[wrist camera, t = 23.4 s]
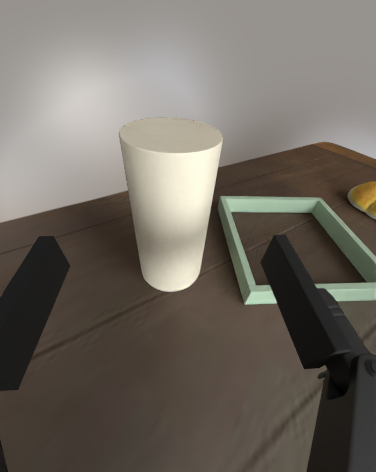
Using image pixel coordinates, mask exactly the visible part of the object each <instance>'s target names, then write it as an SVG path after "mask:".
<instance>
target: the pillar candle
mask: <svg viewBox="0 0 376 472" xmlns="http://www.w3.org/2000/svg"><path fill="white" fill-rule="evenodd" d="M119 138H120V144H121V150H122V155H123V161H124V168H125V174H126V180H127V186H128V192H129V198H130V204H131V210H132V216H133V222H134V228H135V234H136V241H137V247H138V253H139V259H140V265H141V271H142V275H143V277H144V279H145V280H146V282H147V283H148V284H150V285H151V286H152V287H154V288H156V289H158V290H162V291H167V292H173V291H179V290H182V289H185V288H187V287H189V286H190V285H191V284H193V283H194V282H195V280H196V279H197V277H198V275H199V272H200V267H201V262H202V256H203V250H204V245H205V239H206V233H207V227H208V222H209V216H210V210H211V204H212V199H213V193H214V187H215V181H216V176H217V170H218V164H219V158H220V153H221V146H222V141H223V137H222V134H221V133H220V132H219V131H218V130H217V129H215V128H214V127H212V126H210V125H207V124H204V123H201V122H198V121H194V120H188V119H182V118H168V117H167V118H166V117H165V118H147V119H141V120H137V121H134V122H131V123H128V124H127V125H125V126H123V127H122V128H121V129H120V131H119Z"/></svg>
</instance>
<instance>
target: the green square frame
mask: <svg viewBox="0 0 376 472" xmlns="http://www.w3.org/2000/svg"><path fill="white" fill-rule="evenodd" d="M218 212H219V215H220V219H221V223H222V226H223V230H224V233H225V237H226V241H227V244H228V248H229V251H230V255H231V258H232V262H233V266H234V269H235V273H236V276H237V280H238V284H239V287H240V291H241V294H242V297H243V301H244V304H272V303H277V302H276V299H275V297H274V294H273V292H272V289H271V287H270V285H256V284H255V281H254V278H253V275H252V272H251V270H250V267H249V264H248V261H247V258H246V255H245V252H244V249H243V247H242V244H241V241H240V238H239V235H238V232H237V229H236V226H235V223H234V221H233V218H232V215H231V212H294V213H312V214H313V215H314V217H315V218H316V219H317V221H318V222H319V223H320V224H321V226H322V227H323V228H324V229H325V231H326V232H327V233H328V234H329V236H330V237H331V238H332V239H333V241H334V242H335V243H336V244H337V246H338V247H339V248H340V249H341V251H342V252H343V253H344V254H345V256H346V257H347V258H348V259H349V261H350V262H351V263H352V264H353V266H354V267H355V268H356V269H357V271H358V272H359V273H360V274H361V276H362V277H363V278H364V279H365V281H366V282H367V283H334V284H315V286H316V287H317V288H325V289H326V290H327V291H328V292H329V293H330V294H331V295H332V296H333V297H334V298H335V300H336V301H362V300H376V257H375V256H374V255H373V253H372V252H371V251H370V250H369V249H368V248H367V247H366V246H365V245H364V244H363V243H362V242H361V241H360V239H359V238H358V237H357V236H356V235H355V234H354V233H353V232H352V231H351V230H350V229H349V228H348V227H347V226H346V224H345V223H344V222H343V221H342V220H341V219H340V218H339V217H338V216H337V215H336V214H335V213H334V212H333V210H332V209H331V208H330V207H329V206H328V205H327V204H326V203H325V202H324V201H323V200H322V199H321V198H311V197H249V196H220V199H219V204H218Z"/></svg>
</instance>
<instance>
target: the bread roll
mask: <svg viewBox="0 0 376 472" xmlns="http://www.w3.org/2000/svg"><path fill="white" fill-rule="evenodd" d="M348 200H349V201H350V203H351V204H352V205H353V206H354V207H355V208H357V209H359V210H361V211H363V212H365V213H366V214H367V215H368V216H370V217H371V218H373V219H376V182H367V183H364V184H361V185H358V186H356V187H354V188H352V189H351V190H350V191H349V193H348Z"/></svg>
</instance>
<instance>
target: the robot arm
mask: <svg viewBox="0 0 376 472" xmlns="http://www.w3.org/2000/svg"><path fill="white" fill-rule="evenodd" d="M261 265H262V267H263V270H264V272H265V275H266V277H267V279H268V282H269V284H270V287H271V289H272V292H273V294H274V297H275V299H276V302H277V304H278V306H279V309H280V311H281V314H282V316H283V319H284V321H285V324H286V326H287V328H288V331H289V333H290V336H291V338H292V341H293V343H294V346H295V348H296V351H297V353H298V355H299V358H300V360H301V363H302V365H303V368H304V369H312V368H320V367H322V366H324V365H326V367H327V369H328V370H326V371H324V372H322V373H320V374H319V375H318V377H317V378H319V379H322V378H324V377H325V379H324V381H323V382H324V384H323V389H322V395H321V400H320V405H319V410H318V415H317V421H316V426H315V431H314V436H313V441H312V447H311V452H310V457H309V462H308V467H307V472H376V356H375V355H373V354H371V353H370V352H369V351H368V350H367V348H366V347H365V346H364V344H363V342H362V341H361V339H360V338H359V336H358V335H357V333H356V331H355V330H354V328H353V327H352V325H351V324H350V322H349V320H348V319H347V317H346V316H345V314H344V312H343V311H342V309H341V308H340V306H339V305H338V303H337V301H336V300H335V298H334V297H333V296H332V295H331V294H330V293H329V292H328V291H327V290H326V289H325V288H317V287H316V286H315V284H314V282H313V280H312V279H311V277H310V275H309V274H308V272H307V270H306V269H305V267H304V265H303V263H302V262H301V260H300V258H299V257H298V255H297V253H296V252H295V250H294V248H293V247H292V245H291V243H290V241H289V240H288V238H287V236H286V235H274V236H273V238H272V240H271V242H270V244H269V246H268V248H267V250H266V252H265V254H264V256H263V258H262V260H261ZM69 267H70V265H69V263H68V261H67V259H66V257H65V256H64V254H63V252H62V250H61V249H60V247H59V245H58V243H57V241H56V240H55V238H54V236H39V237H38V239H37V241H36V242H35V244H34V245H33V247H32V248H31V250H30V252H29V253H28V255H27V256H26V258H25V259H24V261H23V263H22V264H21V266H20V267H19V269H18V270H17V272H16V274H15V275H14V277H13V278H12V280H11V281H10V283H9V285H8V286H7V288H6V289H5V291H4V292H3V294H2V296H1V297H0V391H5V390H18V389H19V386H20V384H21V381H22V379H23V377H24V374H25V372H26V370H27V367H28V365H29V362H30V360H31V358H32V355H33V353H34V351H35V348H36V346H37V343H38V341H39V339H40V336H41V334H42V332H43V329H44V327H45V324H46V322H47V320H48V317H49V315H50V313H51V310H52V308H53V305H54V303H55V301H56V298H57V296H58V294H59V291H60V289H61V286H62V284H63V282H64V279H65V277H66V275H67V272H68V270H69ZM0 472H8V469H7V465H6V461H5V457H4V453H3V449H2V445H1V441H0Z"/></svg>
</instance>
